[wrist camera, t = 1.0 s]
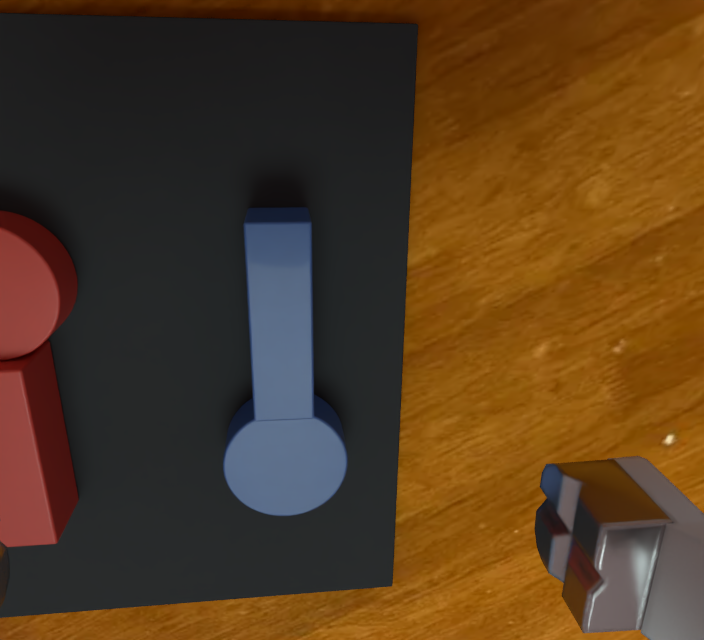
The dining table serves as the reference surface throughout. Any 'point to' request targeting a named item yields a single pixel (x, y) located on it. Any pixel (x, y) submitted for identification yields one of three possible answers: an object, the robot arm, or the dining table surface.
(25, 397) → the red spoon
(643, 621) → the robot arm
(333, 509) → the mat
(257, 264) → the blue spoon
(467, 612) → the dining table surface
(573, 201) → the dining table surface
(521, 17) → the dining table surface
